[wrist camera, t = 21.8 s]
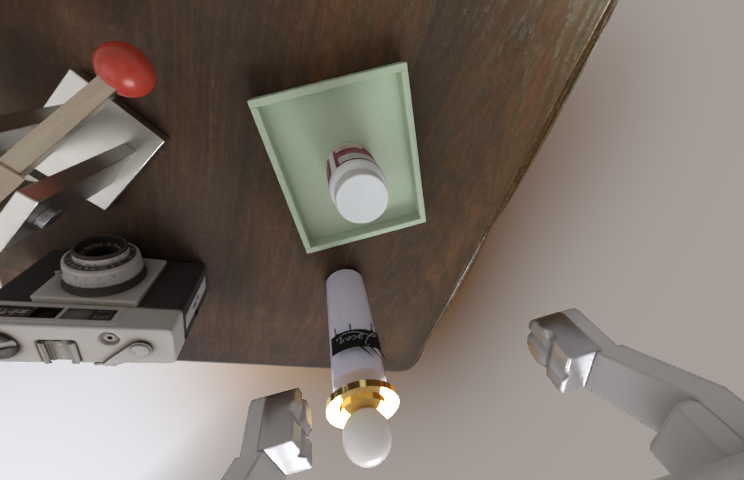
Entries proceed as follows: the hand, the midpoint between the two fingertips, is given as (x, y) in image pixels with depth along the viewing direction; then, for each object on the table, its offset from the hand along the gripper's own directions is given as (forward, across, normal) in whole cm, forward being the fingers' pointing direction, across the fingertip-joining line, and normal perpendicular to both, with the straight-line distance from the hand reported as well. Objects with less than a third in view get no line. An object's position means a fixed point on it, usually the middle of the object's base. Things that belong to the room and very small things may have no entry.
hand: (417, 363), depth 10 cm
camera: (+23, +24, +4) cm, 34 cm away
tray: (+23, 0, 0) cm, 23 cm away
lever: (+17, +17, -9) cm, 26 cm away
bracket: (+23, +20, -7) cm, 31 cm away
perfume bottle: (+23, +4, +14) cm, 27 cm away
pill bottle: (+23, 0, 0) cm, 23 cm away
